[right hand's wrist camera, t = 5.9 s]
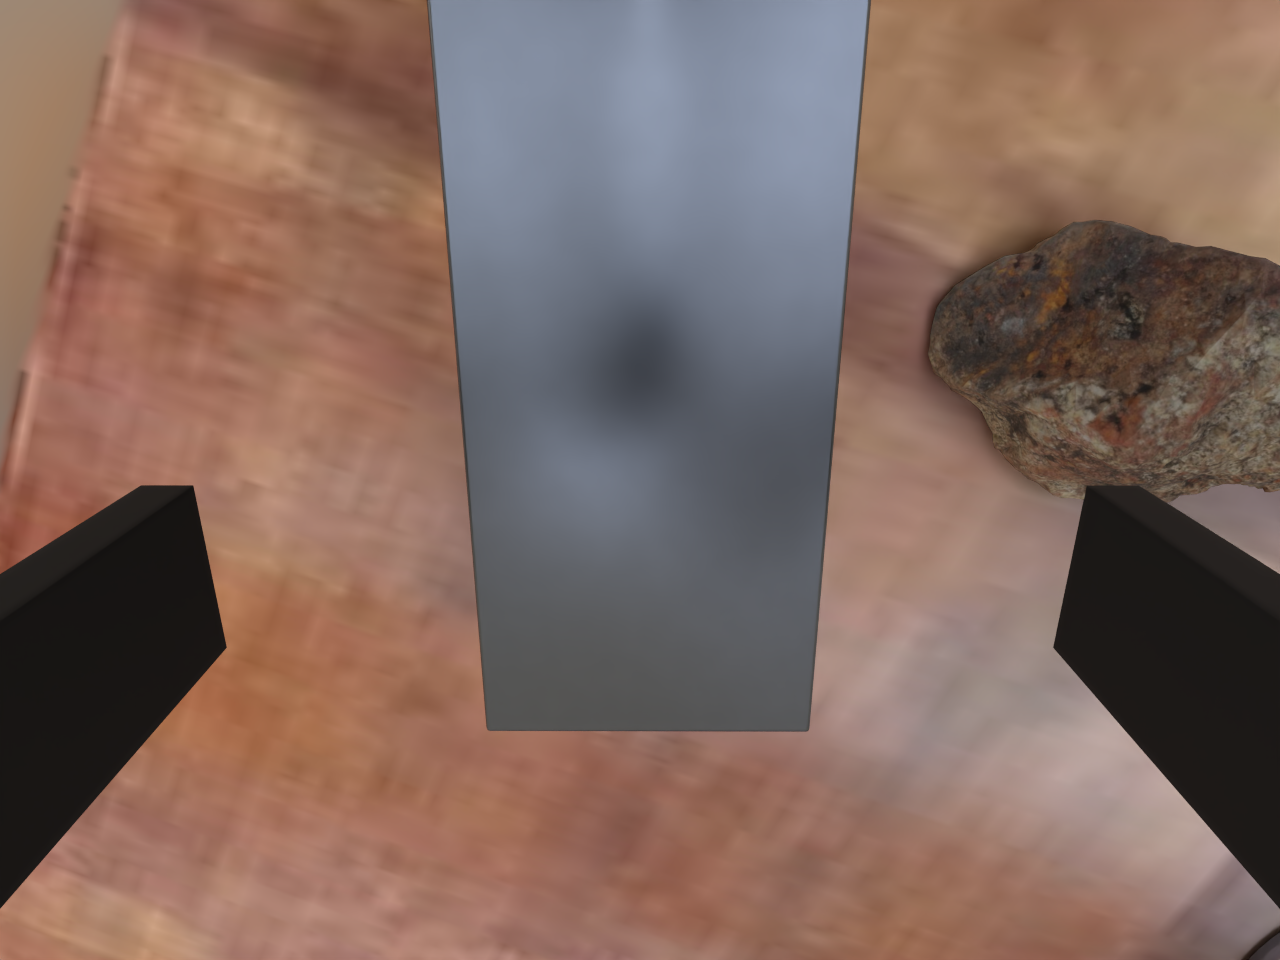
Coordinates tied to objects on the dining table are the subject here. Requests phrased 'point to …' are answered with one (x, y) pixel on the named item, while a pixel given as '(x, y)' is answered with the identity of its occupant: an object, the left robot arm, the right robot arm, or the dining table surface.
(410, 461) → the dining table surface
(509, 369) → the bar
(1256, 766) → the right robot arm
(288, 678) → the dining table surface
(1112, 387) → the rock
